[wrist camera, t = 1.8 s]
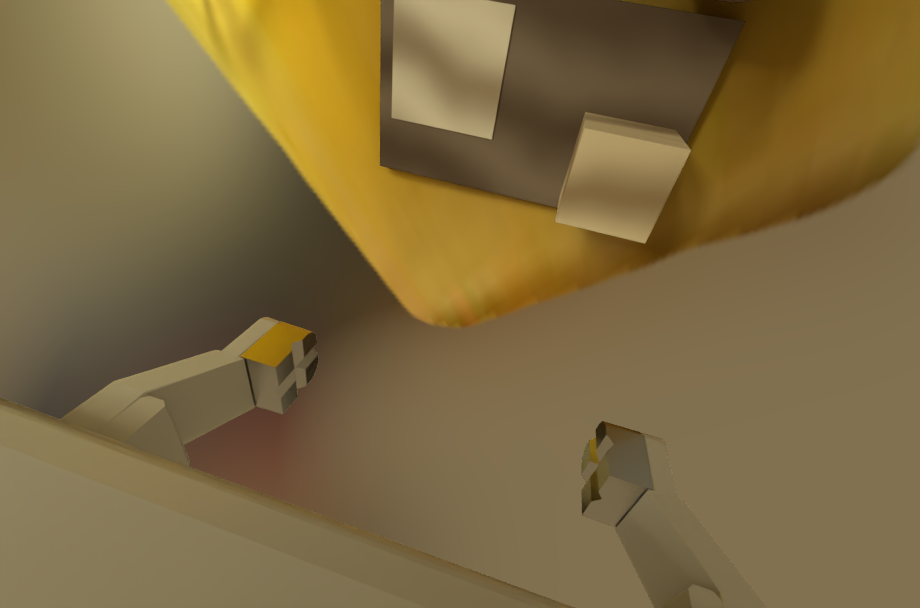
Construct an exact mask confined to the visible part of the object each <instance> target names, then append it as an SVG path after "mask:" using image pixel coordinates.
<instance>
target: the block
mask: <svg viewBox="0 0 920 608" xmlns="http://www.w3.org/2000/svg"><path fill="white" fill-rule="evenodd" d="M690 152H691V149H690V148H689V147H688V145H687V144H686V143H685V142H684V140H683V139H682V138H681V136H680V135H679V134H678V132H677V131H676V130H672V129H667V128H662V127H658V126H653V125H648V124H643V123H638V122H633V121H628V120H623V119H618V118H613V117H608V116H603V115H598V114H593V113H588V112H585V115H584V118H583V121H582V125H581V128H580V131H579V134H578V138H577V141H576V144H575V147H574V151H573V154H572V157H571V160H570V164H569V167H568V170H567V173H566V177H565V180H564V183H563V186H562V190H561V193H560V197H559V202H558V208H557V213H556V219H555V222H558V223H562V224H566V225H570V226H574V227H578V228H582V229H587V230H591V231H595V232H599V233H603V234H607V235H611V236H616V237H620V238H624V239H628V240H632V241H636V242H640V243H646V241H647V239H648V237H649V235H650V233H651V231H652V229H653V227H654V225H655V223H656V221H657V219H658V217H659V215H660V213H661V211H662V209H663V207H664V205H665V203H666V200H667V198H668V196H669V194H670V192H671V190H672V188H673V186H674V184H675V182H676V180H677V178H678V176H679V174H680V172H681V170H682V168H683V166H684V164H685V162H686V160H687V158H688V156H689V154H690Z"/></svg>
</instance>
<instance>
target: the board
mask: <svg viewBox="0 0 920 608" xmlns="http://www.w3.org/2000/svg"><path fill="white" fill-rule="evenodd" d="M744 23H745V21H740V20H734V19H728V18H722V17H715V16H709V15H703V14H697V13H691V12H685V11H679V10H673V9H667V8H660V7H654V6H648V5H642V4H636V3H630V2H624V1H618V0H381V84H380V166H383V167H387V168H391V169H395V170H400V171H404V172H408V173H412V174H417V175H421V176H425V177H429V178H433V179H438V180H442V181H446V182H450V183H455V184H459V185H463V186H467V187H472V188H476V189H480V190H484V191H488V192H493V193H497V194H501V195H505V196H510V197H514V198H518V199H522V200H526V201H531V202H535V203H539V204H543V205H548V206H552V207H556V208H558V202H559V197H560V193H561V190H562V186H563V183H564V180H565V177H566V173H567V170H568V167H569V164H570V160H571V157H572V154H573V151H574V147H575V144H576V141H577V138H578V134H579V131H580V128H581V125H582V121H583V118H584V115H585V112H588V113H593V114H598V115H603V116H608V117H613V118H618V119H623V120H628V121H633V122H638V123H643V124H648V125H653V126H658V127H662V128H667V129H672V130H676V131H677V132H678V134H679V135H680V136H681V138H682V139H683V140H684V142H685V143H686V144H687V142H688V140H689V138H690V136H691V134H692V132H693V129H694V127H695V125H696V123H697V121H698V119H699V117H700V115H701V113H702V111H703V109H704V107H705V104H706V102H707V100H708V98H709V96H710V94H711V92H712V90H713V88H714V86H715V84H716V82H717V80H718V77H719V75H720V73H721V71H722V69H723V67H724V65H725V63H726V61H727V59H728V57H729V55H730V52H731V50H732V48H733V46H734V44H735V42H736V40H737V38H738V36H739V34H740V32H741V30H742V27H743V25H744Z"/></svg>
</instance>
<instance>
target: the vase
mask: <svg viewBox="0 0 920 608" xmlns="http://www.w3.org/2000/svg"><path fill="white" fill-rule="evenodd" d="M718 1H723V2H735V3H736V2H748V1H753V0H718Z"/></svg>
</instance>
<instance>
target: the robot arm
mask: <svg viewBox="0 0 920 608" xmlns="http://www.w3.org/2000/svg"><path fill="white" fill-rule="evenodd" d="M316 344H317V338H316V334H315V333H313V332H311V331H308V330H304V329H302V328H299V327H296V326H293V325H290V324H287V323H284V322H280V321H277V320H274V319H271V318H268V317H264V318H261V319H259V320H258V321H257V322H256V323H254V324H253V325H252V326H251V327H250V328H249V329H247V330H246V331H245V332H244V333H243V334H241V335H240V336H239V337H238V338H237V339H235V340H234V341H233V342H232V343H231V344H229V345H228V346H227V347H226V348H225V349H224V350H222V351H219V350H214V351H211V352H207V353H204V354H201V355H198V356H195V357H191V358H188V359H185V360H181V361H178V362H175V363H172V364H168V365H165V366H162V367H159V368H155V369H152V370H149V371H146V372H143V373H139V374H136V375H133V376H130V377H127V378H123V379H120V380H117V381H113V382H112V383H111V384H109V385H108V386H106V387H105V388H104V389H102V390H101V391H99V392H98V393H97V394H95V395H94V396H92V397H91V398H90V399H88V400H87V401H85V402H84V403H83V404H81V405H80V406H78V407H77V408H75V409H74V410H73V411H71V412H70V413H68V414H67V415H66V416H64V417H63V418H61V419H57V418H54V417H51V416H49V415H46V414H43V413H41V412H38V411H35V410H33V409H30V408H27V407H24V406H22V405H19V404H16V403H13V402H11V401H8V400H5V399H3V398H0V608H574V607H571V606H568V605H566V604H563V603H560V602H558V601H555V600H552V599H550V598H547V597H544V596H541V595H538V594H536V593H533V592H530V591H528V590H525V589H522V588H520V587H517V586H514V585H511V584H508V583H506V582H503V581H500V580H498V579H495V578H492V577H490V576H487V575H484V574H481V573H479V572H476V571H473V570H470V569H468V568H465V567H462V566H460V565H457V564H454V563H451V562H448V561H446V560H443V559H440V558H437V557H435V556H432V555H430V554H427V553H424V552H421V551H419V550H416V549H413V548H410V547H408V546H405V545H402V544H399V543H397V542H394V541H391V540H389V539H386V538H383V537H380V536H378V535H375V534H372V533H369V532H367V531H364V530H361V529H358V528H356V527H353V526H350V525H347V524H344V523H342V522H339V521H336V520H334V519H331V518H328V517H325V516H323V515H320V514H317V513H314V512H312V511H309V510H306V509H303V508H301V507H298V506H295V505H293V504H290V503H287V502H284V501H282V500H279V499H276V498H274V497H271V496H268V495H265V494H263V493H260V492H257V491H254V490H252V489H249V488H246V487H243V486H241V485H238V484H235V483H232V482H230V481H227V480H224V479H221V478H219V477H216V476H213V475H211V474H208V473H205V472H202V471H199V470H197V469H194V468H191V467H189V466H188V465H189V457H188V455H187V453H186V450H185V448H184V446H183V445H184V444H186V443H188V442H190V441H192V440H194V439H196V438H198V437H200V436H202V435H203V434H205V433H207V432H209V431H211V430H213V429H214V428H217V427H219V426H220V425H222V424H224V423H226V422H228V421H230V420H232V419H234V418H236V417H237V416H239V415H241V414H243V413H245V412H247V411H249V410H250V409H253V408H254V407H255V406H258V407H261V408H264V409H267V410H271V411H274V412H277V413H280V414H284V413H285V411H286V410H287V409H288V408H289V406H290V405H291V404H292V403H293V401H294V400H295V399H296V398H297V397H298V396H297V389H299V388H301V387H304V386H306V385H307V384H308V383H309V382H310V380H311V379H312V378H313V376H314V373H315V371H316V369H317V365H318V354H317V353H316V351H315V350H314V348H313V347H314V346H315V345H316ZM581 467H582V468H581V469H582V471H581V473H582V476H583V478H584V480H585V481H586V484H585V486H584V487H583V489H582V515H583V516H585V517H588V518H591V519H594V520H596V521H599V522H602V523H605V524H608V525H610V526H613V527H616V528H615V530H616V532H617V534H618V536H619V538H620V540H621V542H622V544H623V546H624V548H625V550H626V552H627V554H628V556H629V558H630V560H631V562H632V564H633V566H634V568H635V570H636V572H637V574H638V576H639V578H640V580H641V582H642V584H643V586H644V588H645V590H646V592H647V594H648V596H649V598H650V600H651V602H652V604H653V606H654V608H768V607H767V606H766V605H765V604H764V602H763V601H762V600H761V599H760V597H759V596H758V595H757V593H756V592H755V591H754V590H753V588H752V587H751V586H750V585H749V583H748V582H747V581H746V579H745V578H744V577H743V576H742V574H741V573H740V572H739V571H738V569H737V568H736V567H735V565H734V564H733V563H732V562H731V560H730V559H729V558H728V556H727V555H726V554H725V553H724V551H723V550H722V549H721V548H720V546H719V545H718V544H717V542H716V541H715V540H714V539H713V537H712V536H711V535H710V533H709V532H708V531H707V530H706V528H705V527H704V526H703V524H702V523H701V522H700V521H699V519H698V518H697V517H696V516H695V514H694V513H693V512H692V511H691V509H690V508H689V507H688V505H687V504H686V503H685V502H684V501H683V500H680V499H678V497H677V493H676V489H675V485H674V480H673V476H672V471H671V467H670V463H669V458H668V454H667V450H666V446H665V442H664V441H663V440H662V439H661V438H657V437H654V436H650V435H647V434H644V433H640V432H638V431H634V430H631V429H628V428H624V427H621V426H617V425H614V424H611V423H607V422H604V421H602V422H601V423H600V424H599V425H598V427H597V428H596V438H594V439H591V440H589V442H588V444H587V446H586V448H585V450H584V454H583V457H582V466H581Z"/></svg>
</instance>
